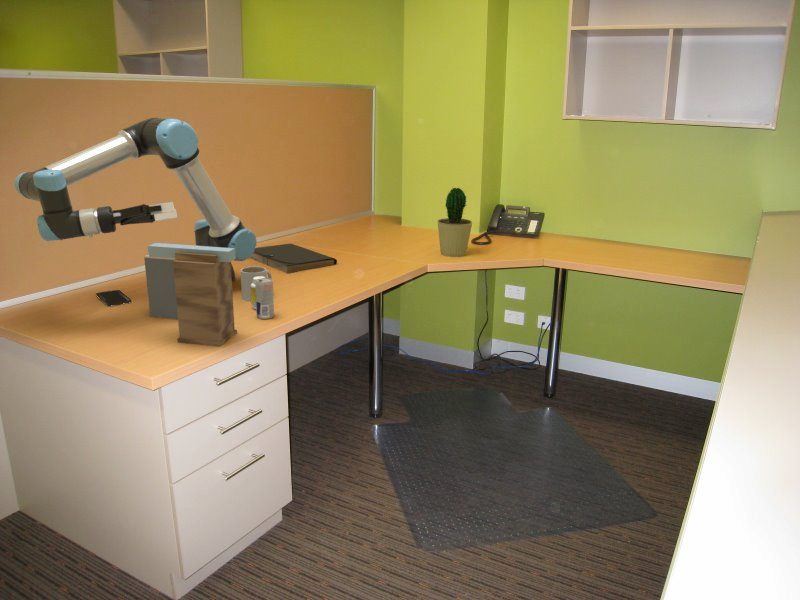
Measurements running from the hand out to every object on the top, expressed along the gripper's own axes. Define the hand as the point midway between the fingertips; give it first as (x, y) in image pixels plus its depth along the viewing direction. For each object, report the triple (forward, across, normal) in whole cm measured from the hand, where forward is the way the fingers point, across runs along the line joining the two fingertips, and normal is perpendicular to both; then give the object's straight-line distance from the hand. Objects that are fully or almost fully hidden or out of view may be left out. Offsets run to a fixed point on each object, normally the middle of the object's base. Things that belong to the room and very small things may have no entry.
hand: (175, 210), depth 193 cm
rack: (+2, +8, -39) cm, 40 cm away
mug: (+21, -26, -30) cm, 45 cm away
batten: (+2, +14, -16) cm, 21 cm away
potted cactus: (+111, -69, -26) cm, 133 cm away
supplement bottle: (+20, -15, -34) cm, 42 cm away
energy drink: (+20, -6, -36) cm, 42 cm away
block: (-6, -15, -30) cm, 34 cm away
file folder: (+39, -72, -18) cm, 84 cm away
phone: (-26, -34, -22) cm, 48 cm away
